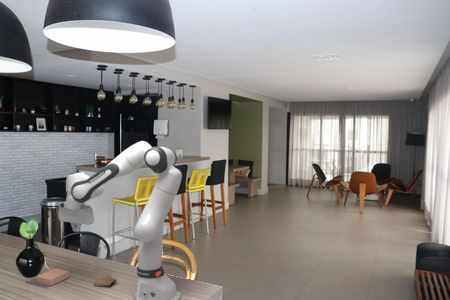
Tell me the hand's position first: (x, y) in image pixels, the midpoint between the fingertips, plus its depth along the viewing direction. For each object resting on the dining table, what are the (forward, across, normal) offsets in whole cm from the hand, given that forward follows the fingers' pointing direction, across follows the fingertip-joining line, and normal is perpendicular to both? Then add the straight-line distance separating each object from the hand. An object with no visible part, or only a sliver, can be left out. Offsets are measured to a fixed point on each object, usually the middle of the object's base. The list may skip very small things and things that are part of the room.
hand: (76, 231), depth 181 cm
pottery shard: (+27, -7, -8) cm, 29 cm away
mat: (+27, +18, +1) cm, 33 cm away
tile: (+25, +10, +1) cm, 27 cm away
